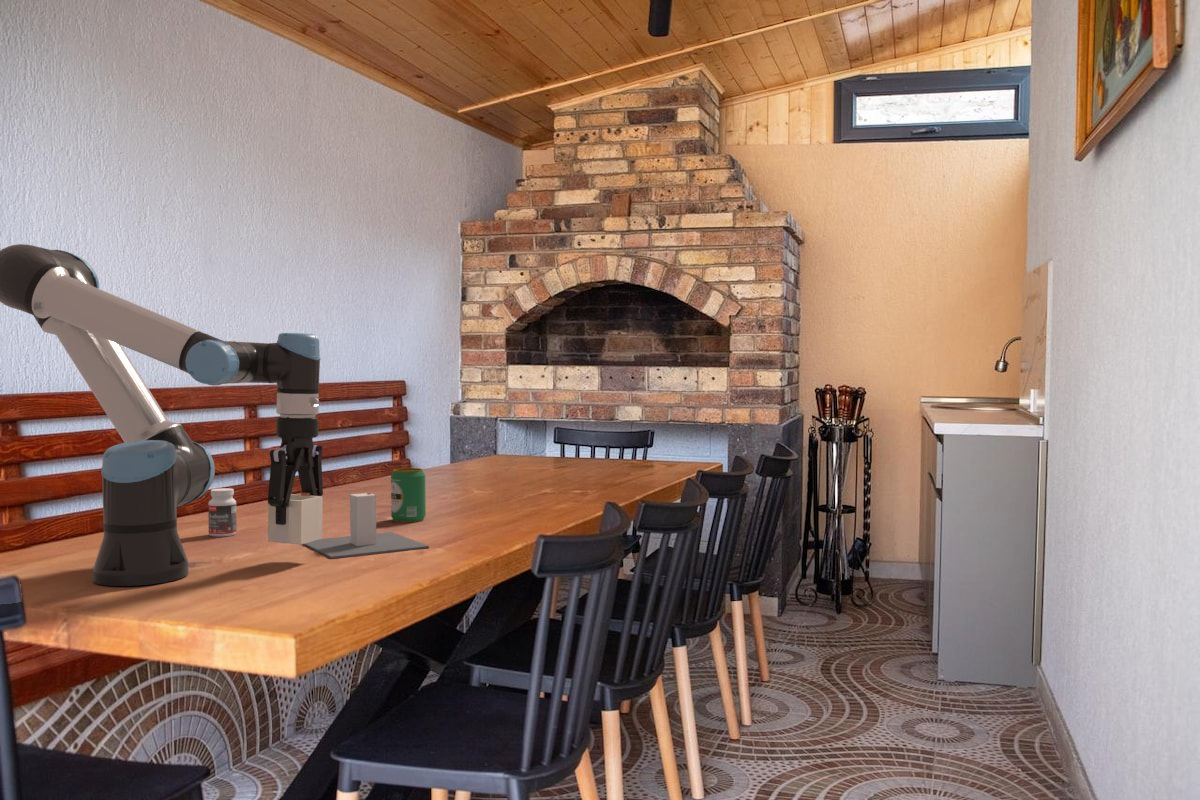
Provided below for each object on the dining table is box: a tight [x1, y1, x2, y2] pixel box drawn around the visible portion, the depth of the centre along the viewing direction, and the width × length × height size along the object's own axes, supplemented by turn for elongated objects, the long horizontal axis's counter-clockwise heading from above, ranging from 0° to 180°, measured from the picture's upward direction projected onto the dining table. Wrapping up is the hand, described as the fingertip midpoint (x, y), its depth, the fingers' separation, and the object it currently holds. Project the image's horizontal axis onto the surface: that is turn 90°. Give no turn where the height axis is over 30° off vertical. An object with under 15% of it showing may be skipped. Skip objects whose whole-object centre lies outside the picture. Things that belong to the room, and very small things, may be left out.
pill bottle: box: [207, 487, 238, 538], centre depth 219 cm, size 6×6×10 cm
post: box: [302, 492, 430, 559], centre depth 206 cm, size 20×20×11 cm
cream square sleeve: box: [267, 492, 324, 546], centre depth 189 cm, size 7×7×8 cm
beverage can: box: [390, 467, 427, 523], centre depth 239 cm, size 8×8×12 cm
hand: (295, 538), depth 189 cm, fingers closed on cream square sleeve, 7 cm apart
